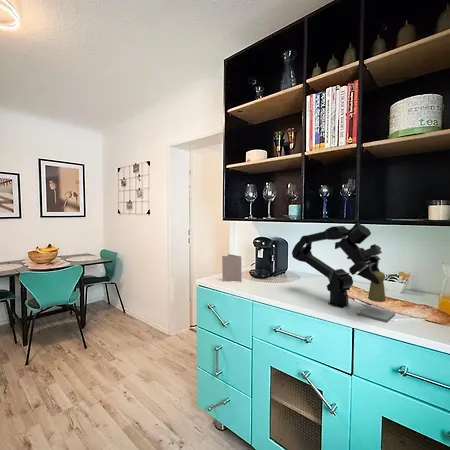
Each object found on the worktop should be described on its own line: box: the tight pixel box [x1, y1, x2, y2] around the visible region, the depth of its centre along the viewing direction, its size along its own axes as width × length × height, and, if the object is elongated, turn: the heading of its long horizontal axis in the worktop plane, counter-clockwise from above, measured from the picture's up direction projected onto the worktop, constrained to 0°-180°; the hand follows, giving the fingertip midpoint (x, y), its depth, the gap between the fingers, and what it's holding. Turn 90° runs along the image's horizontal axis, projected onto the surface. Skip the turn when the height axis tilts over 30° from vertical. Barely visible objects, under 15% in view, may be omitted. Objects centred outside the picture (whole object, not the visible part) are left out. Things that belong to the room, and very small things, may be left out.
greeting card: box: [221, 253, 243, 283], centre depth 156 cm, size 11×7×15 cm, turn 41°
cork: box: [367, 271, 387, 303], centre depth 104 cm, size 6×6×11 cm
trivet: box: [357, 305, 396, 323], centre depth 104 cm, size 10×10×1 cm
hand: (381, 282), depth 102 cm, fingers closed on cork, 5 cm apart
